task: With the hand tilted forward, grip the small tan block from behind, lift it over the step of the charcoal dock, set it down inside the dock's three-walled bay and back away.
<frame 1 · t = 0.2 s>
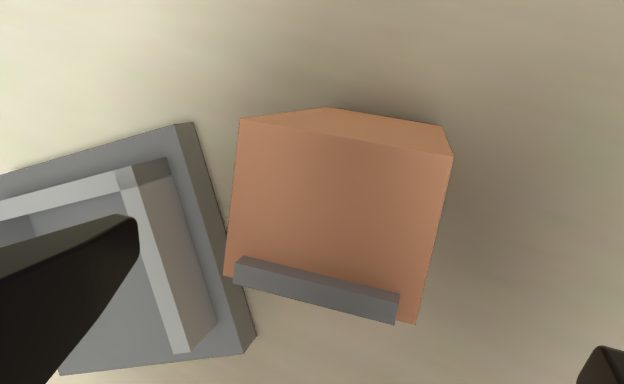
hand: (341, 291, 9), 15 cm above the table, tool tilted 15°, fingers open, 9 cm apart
dock: (132, 251, 28), on the table
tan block: (376, 159, 23), on the table
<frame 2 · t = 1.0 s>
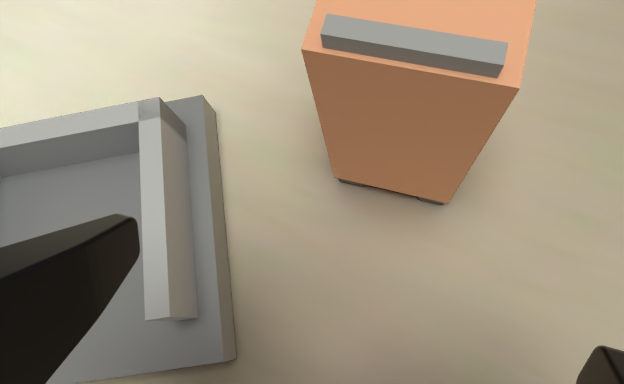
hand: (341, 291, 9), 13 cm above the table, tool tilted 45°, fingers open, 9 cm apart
dock: (105, 245, 24), on the table
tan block: (399, 154, 23), on the table
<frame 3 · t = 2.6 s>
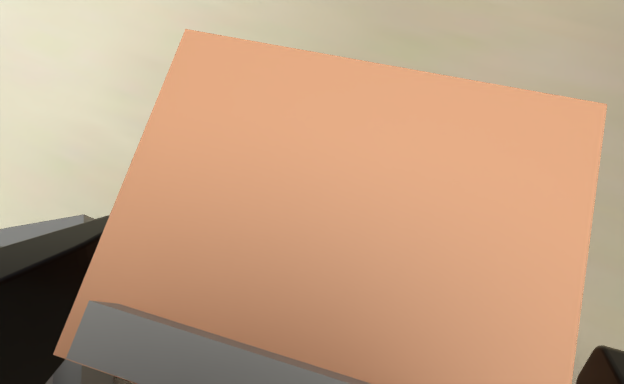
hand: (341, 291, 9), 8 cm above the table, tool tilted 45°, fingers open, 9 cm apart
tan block: (358, 299, 17), on the table
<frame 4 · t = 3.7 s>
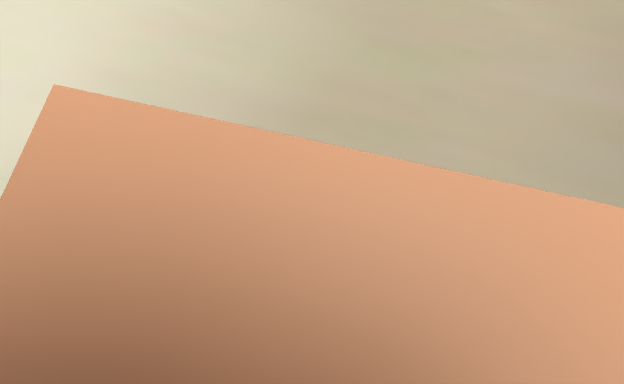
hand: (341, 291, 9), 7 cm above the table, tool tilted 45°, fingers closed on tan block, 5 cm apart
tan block: (343, 349, 15), on the table, touching gripper
when the fingers open (9 cm above the table, at t = 8.7 s): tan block stays where it is, resting on dock.
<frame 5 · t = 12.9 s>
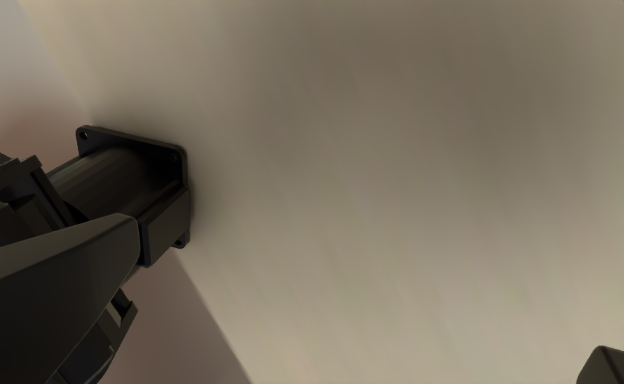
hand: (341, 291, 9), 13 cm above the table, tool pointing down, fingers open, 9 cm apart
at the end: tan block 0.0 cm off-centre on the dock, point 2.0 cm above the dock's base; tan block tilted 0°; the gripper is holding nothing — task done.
